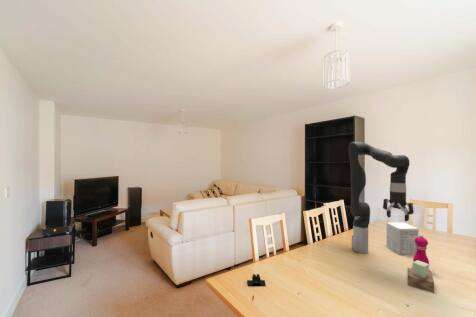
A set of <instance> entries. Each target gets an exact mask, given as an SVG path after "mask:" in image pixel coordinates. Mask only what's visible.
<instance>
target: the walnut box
mask: <svg viewBox="0 0 476 317" xmlns="http://www.w3.org/2000/svg"><path fill="white" fill-rule="evenodd" d="M412 272H413V268H411V267H407V285H408V286H411V287H414V288H418V289H420V290H421V289H422V290H425V291H429V292H432V291H433V292H435V280H434V276H433V273H432V272H429V276H428V277H426V278H422V277H419V276H417V275H414V274H412Z"/></svg>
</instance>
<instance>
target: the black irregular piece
mask: <svg viewBox="0 0 476 317" xmlns="http://www.w3.org/2000/svg"><path fill="white" fill-rule="evenodd" d="M246 285H247V287H266V286H267V285H266V280H265V279H261V276H260V273H257V274H256V273H255V274H254V273H252V275H251V280H249V279H247V280H246Z"/></svg>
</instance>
